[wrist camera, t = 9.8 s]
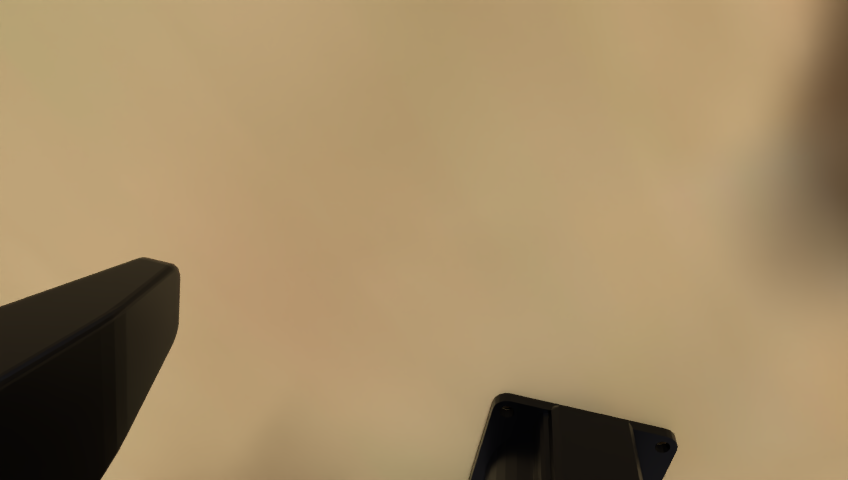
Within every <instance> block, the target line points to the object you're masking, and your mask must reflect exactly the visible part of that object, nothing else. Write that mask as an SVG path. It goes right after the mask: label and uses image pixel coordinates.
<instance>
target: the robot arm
mask: <svg viewBox="0 0 848 480" xmlns="http://www.w3.org/2000/svg"><path fill="white" fill-rule="evenodd" d="M179 300H180V273H179V269H178V268H177V267H176V266H175V265H174V264H171V263H167V262H163V261H159V260H155V259H151V258H146V257H142V258H138V259H135V260H132V261H129V262H126V263H123V264H121V265H118V266H115V267H112V268H109V269H106V270H103V271H101V272H98V273H95V274H92V275H89V276H86V277H83V278H81V279H78V280H75V281H72V282H69V283H66V284H64V285H61V286H58V287H55V288H52V289H49V290H46V291H44V292H41V293H38V294H35V295H32V296H29V297H26V298H24V299H21V300H18V301H15V302H12V303H9V304H6V305H4V306H1V307H0V480H101V478H102V477H103V475H104V474H105V472H106V471H107V469H108V467H109V466H110V464H111V462H112V461H113V459H114V458H115V456H116V454H117V453H118V451H119V449H120V447H121V445H122V443H123V441H124V440H125V438H126V436H127V434H128V432H129V430H130V428H131V426H132V424H133V422H134V420H135V418H136V416H137V414H138V412H139V410H140V408H141V406H142V404H143V402H144V400H145V398H146V396H147V394H148V392H149V390H150V388H151V386H152V384H153V382H154V380H155V378H156V376H157V374H158V372H159V370H160V368H161V366H162V364H163V362H164V360H165V358H166V356H167V355H168V353H169V351H170V349H171V347H172V345H173V342H174V340H175V337H176V334H177V330H178V325H179ZM504 406H509V407H511V408H512V409H510V410H505V409H503V408H502V407H504ZM659 442H666V443H665V444H662V445H661V444H657V443H659ZM677 447H678V446H677V442H676V438H675V435H674V434H673V433H672V432H671V431H670V430H667V429H665V428H660V427H656V426H651V425H647V424H643V423H638V422H634V421H629V420H625V419H620V418H616V417H612V416H607V415H603V414H598V413H594V412H590V411H585V410H581V409H576V408H572V407H568V406H563V405H559V404H554V403H550V402H546V401H541V400H537V399H532V398H528V397H524V396H519V395H515V394H510V393H503V394H499V395H498V396H497V397H495V399H494V401H493V403H492V407H491V410H490V413H489V416H488V420H487V423H486V426H485V429H484V433H483V436H482V439H481V442H480V446H479V449H478V452H477V455H476V459H475V462H474V465H473V468H472V472H471V475H470V478H469V480H662V479H663V477H664V475H665V473H666V471H667V469H668V467H669V465H670V463H671V461H672V459H673V457H674V455H675V453H676V451H677Z"/></svg>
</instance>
